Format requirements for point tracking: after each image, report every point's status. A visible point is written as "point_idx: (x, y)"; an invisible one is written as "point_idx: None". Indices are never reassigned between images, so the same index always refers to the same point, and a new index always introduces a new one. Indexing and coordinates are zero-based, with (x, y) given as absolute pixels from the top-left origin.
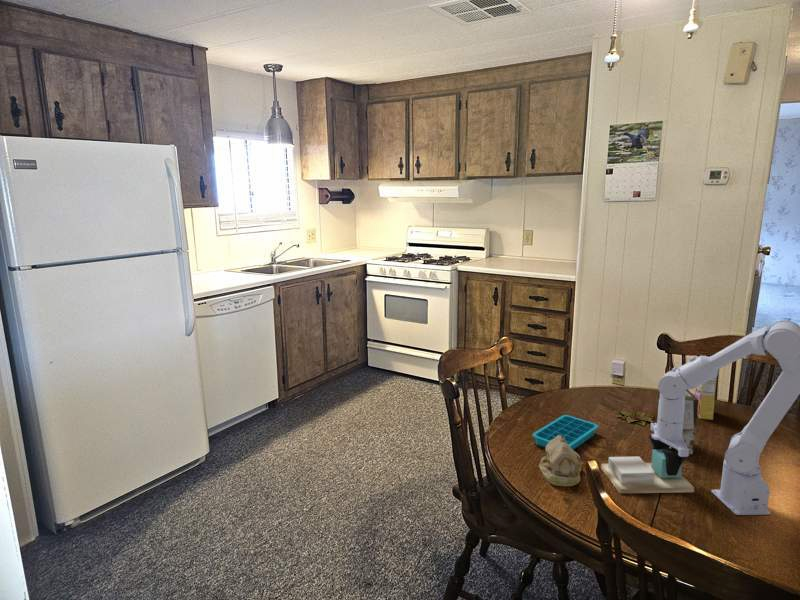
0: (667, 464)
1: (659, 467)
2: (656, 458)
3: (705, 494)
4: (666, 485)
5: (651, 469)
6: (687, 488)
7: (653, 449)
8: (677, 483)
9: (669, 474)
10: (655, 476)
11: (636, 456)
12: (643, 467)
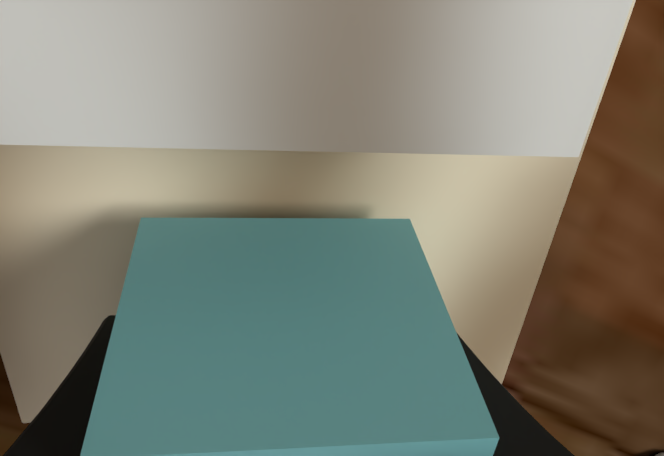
0: (45, 440)
1: (189, 295)
2: (310, 365)
3: (14, 439)
4: (25, 207)
5: (406, 207)
6: (8, 369)
7: (546, 435)
8: (88, 328)
9: (98, 334)
10: (244, 179)
11: (593, 110)
12: (180, 36)
